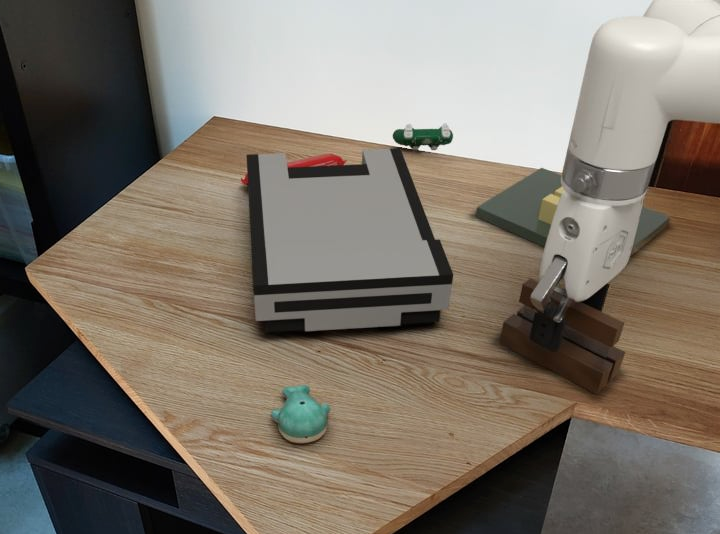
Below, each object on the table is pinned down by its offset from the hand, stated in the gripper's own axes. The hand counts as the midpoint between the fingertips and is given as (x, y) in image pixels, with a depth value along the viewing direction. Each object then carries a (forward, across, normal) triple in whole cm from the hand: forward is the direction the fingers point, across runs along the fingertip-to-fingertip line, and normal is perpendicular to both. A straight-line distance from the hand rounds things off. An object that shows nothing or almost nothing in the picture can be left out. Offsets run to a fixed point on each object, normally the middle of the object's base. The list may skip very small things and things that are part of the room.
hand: (565, 326), depth 81 cm
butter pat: (+3, +22, +14) cm, 26 cm away
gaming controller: (+5, +30, +42) cm, 52 cm away
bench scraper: (+4, 0, 0) cm, 4 cm away
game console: (+5, -3, +30) cm, 30 cm away
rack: (+4, 0, 0) cm, 4 cm away
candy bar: (+1, +8, +49) cm, 49 cm away
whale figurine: (+5, -26, +13) cm, 29 cm away
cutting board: (+4, +26, +14) cm, 30 cm away
